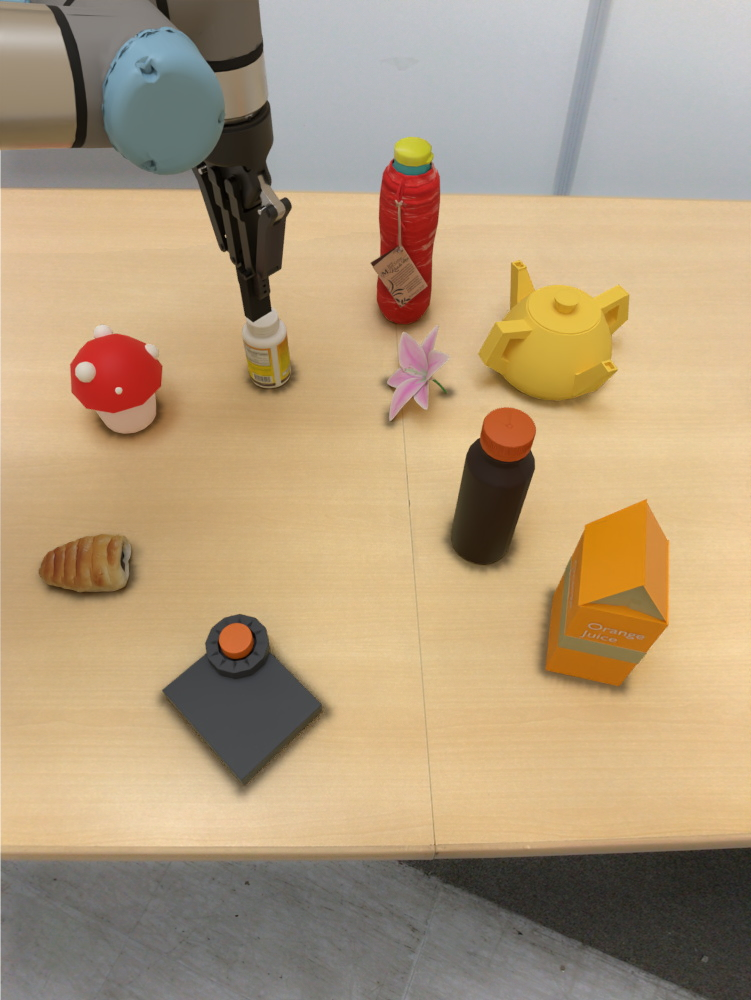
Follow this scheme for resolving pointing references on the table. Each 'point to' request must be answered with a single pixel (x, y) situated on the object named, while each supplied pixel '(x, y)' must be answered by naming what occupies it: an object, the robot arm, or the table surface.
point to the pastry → (88, 564)
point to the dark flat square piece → (242, 701)
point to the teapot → (555, 338)
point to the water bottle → (407, 231)
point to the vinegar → (494, 486)
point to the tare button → (236, 641)
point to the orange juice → (611, 597)
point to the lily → (415, 371)
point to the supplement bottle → (267, 350)
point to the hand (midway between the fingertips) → (258, 313)
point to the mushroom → (117, 379)
